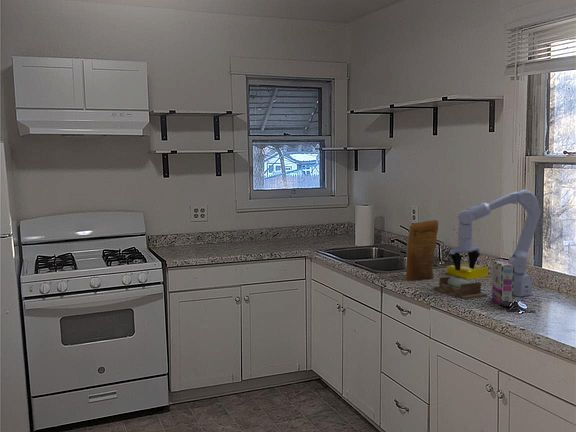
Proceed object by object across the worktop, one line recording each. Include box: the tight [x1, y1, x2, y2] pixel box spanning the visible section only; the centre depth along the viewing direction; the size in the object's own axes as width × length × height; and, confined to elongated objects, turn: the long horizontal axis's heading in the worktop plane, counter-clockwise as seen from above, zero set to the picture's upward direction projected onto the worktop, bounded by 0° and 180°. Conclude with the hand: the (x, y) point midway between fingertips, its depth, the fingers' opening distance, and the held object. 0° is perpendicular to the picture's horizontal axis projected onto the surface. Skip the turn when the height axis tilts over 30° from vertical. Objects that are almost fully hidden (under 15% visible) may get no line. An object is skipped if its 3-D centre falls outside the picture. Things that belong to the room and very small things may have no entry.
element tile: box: [446, 262, 489, 280], centre depth 282 cm, size 15×15×5 cm
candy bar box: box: [491, 260, 514, 306], centre depth 228 cm, size 11×5×16 cm, turn 178°
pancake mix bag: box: [405, 219, 439, 282], centre depth 272 cm, size 7×19×28 cm, turn 115°
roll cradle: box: [433, 275, 488, 300], centre depth 246 cm, size 20×12×6 cm, turn 22°
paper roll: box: [447, 276, 472, 289], centre depth 246 cm, size 10×5×5 cm, turn 23°
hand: (464, 269), depth 249 cm, fingers open, 7 cm apart
